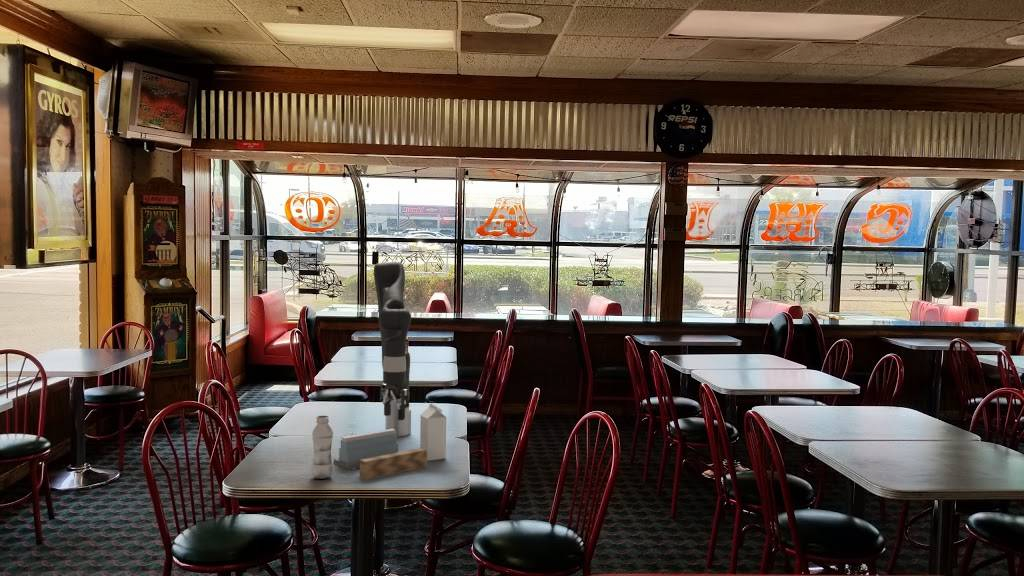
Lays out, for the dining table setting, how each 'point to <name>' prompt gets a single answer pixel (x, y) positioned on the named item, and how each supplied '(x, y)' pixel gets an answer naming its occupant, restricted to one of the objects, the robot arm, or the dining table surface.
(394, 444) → the fulcrum ridge
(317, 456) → the plastic bottle
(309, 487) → the dining table surface
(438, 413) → the milk carton
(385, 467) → the walnut plank
